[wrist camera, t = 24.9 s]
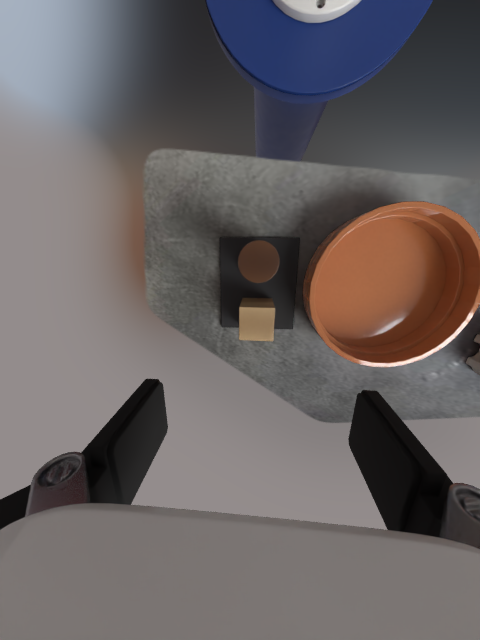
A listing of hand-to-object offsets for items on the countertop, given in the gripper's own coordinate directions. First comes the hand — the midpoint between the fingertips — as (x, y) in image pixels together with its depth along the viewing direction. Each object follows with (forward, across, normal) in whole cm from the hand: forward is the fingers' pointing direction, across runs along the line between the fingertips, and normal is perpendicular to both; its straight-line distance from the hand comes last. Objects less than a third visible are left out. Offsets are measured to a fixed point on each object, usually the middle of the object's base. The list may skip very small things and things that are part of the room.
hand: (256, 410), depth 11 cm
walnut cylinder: (+21, 0, -6) cm, 22 cm away
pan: (+21, -15, -3) cm, 26 cm away
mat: (+21, 0, -3) cm, 21 cm away
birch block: (+21, 0, +1) cm, 21 cm away
